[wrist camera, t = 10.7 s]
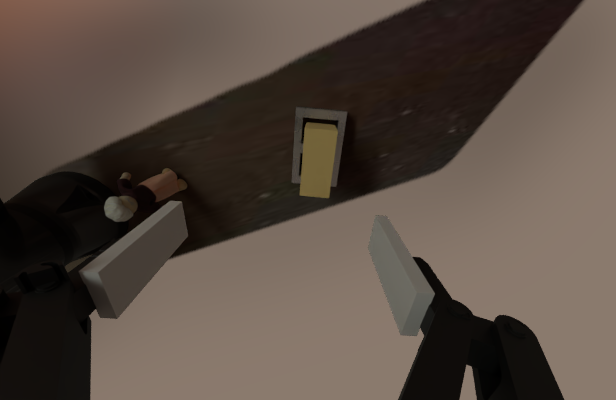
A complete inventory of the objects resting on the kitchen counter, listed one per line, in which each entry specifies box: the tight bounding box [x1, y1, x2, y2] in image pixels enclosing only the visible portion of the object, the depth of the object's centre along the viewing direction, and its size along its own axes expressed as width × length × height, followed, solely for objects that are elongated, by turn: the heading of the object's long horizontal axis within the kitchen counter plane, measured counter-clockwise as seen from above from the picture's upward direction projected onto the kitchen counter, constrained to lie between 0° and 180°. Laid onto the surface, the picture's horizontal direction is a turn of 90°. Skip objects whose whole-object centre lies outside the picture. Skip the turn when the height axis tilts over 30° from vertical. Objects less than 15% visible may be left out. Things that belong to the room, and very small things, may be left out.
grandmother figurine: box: [104, 168, 187, 222], centre depth 32 cm, size 8×4×13 cm, turn 51°
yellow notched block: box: [300, 122, 338, 198], centre depth 31 cm, size 4×8×10 cm, turn 175°
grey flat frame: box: [292, 106, 347, 187], centre depth 34 cm, size 7×11×2 cm, turn 175°
